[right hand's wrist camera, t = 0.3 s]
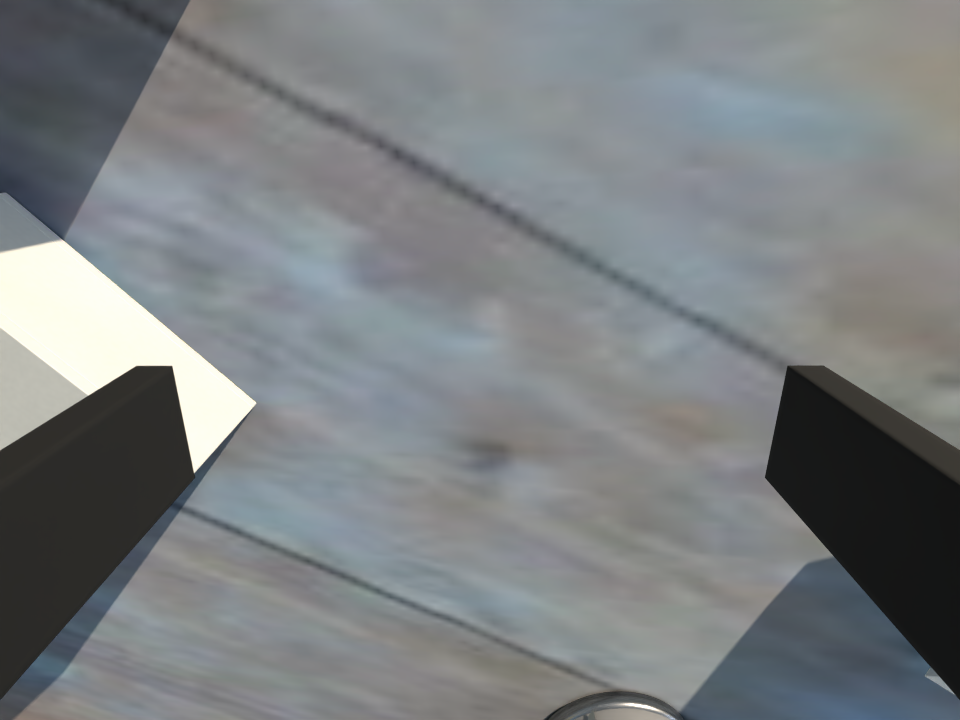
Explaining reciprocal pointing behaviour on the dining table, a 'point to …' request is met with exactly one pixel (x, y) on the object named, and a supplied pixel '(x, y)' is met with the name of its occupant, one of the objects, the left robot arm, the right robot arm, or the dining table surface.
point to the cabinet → (88, 340)
